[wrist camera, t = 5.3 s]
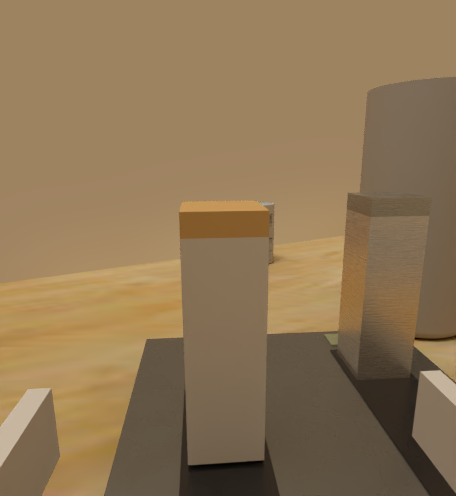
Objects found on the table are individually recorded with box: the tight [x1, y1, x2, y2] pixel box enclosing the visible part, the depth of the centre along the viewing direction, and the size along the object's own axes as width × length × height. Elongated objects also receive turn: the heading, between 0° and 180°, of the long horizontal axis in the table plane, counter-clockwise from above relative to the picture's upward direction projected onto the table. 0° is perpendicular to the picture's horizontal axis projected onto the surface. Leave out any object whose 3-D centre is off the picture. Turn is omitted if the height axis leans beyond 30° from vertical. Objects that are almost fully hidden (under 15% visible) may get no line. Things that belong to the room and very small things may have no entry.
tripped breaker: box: [179, 201, 270, 465], centre depth 20 cm, size 4×4×13 cm
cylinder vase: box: [360, 77, 456, 339], centre depth 42 cm, size 12×12×25 cm
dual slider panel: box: [104, 192, 456, 496], centre depth 21 cm, size 23×26×16 cm
